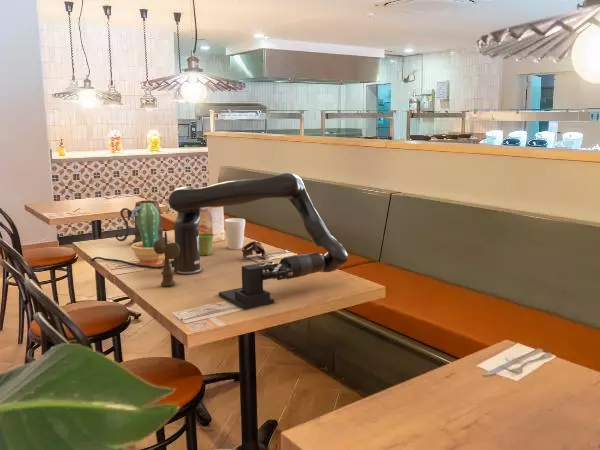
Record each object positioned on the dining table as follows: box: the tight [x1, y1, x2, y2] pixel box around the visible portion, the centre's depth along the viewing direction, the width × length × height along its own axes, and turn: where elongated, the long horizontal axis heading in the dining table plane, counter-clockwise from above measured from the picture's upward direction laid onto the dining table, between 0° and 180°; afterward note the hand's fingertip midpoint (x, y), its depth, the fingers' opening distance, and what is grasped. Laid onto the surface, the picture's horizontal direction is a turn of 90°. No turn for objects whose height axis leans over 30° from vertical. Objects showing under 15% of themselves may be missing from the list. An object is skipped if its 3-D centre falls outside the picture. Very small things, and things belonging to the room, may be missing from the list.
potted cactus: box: [130, 203, 170, 266], centre depth 235 cm, size 15×15×25 cm
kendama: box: [154, 231, 180, 288], centre depth 205 cm, size 6×10×20 cm, turn 43°
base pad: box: [218, 287, 275, 310], centre depth 192 cm, size 18×11×4 cm, turn 37°
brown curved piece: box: [241, 240, 267, 260], centre depth 247 cm, size 12×10×8 cm
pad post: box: [241, 263, 264, 296], centre depth 187 cm, size 5×5×11 cm
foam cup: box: [224, 217, 246, 250], centre depth 264 cm, size 10×9×13 cm
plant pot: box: [199, 233, 214, 257], centre depth 252 cm, size 9×9×9 cm
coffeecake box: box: [199, 206, 226, 243], centre depth 282 cm, size 15×7×20 cm, turn 43°
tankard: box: [114, 199, 165, 246], centre depth 270 cm, size 24×17×20 cm
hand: (254, 274), depth 187 cm, fingers open, 8 cm apart
